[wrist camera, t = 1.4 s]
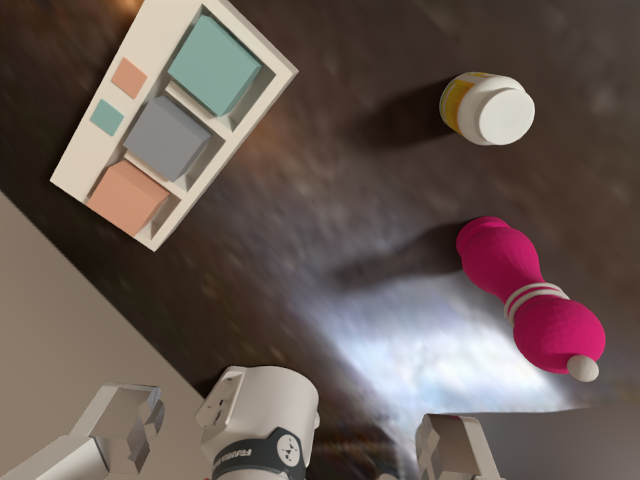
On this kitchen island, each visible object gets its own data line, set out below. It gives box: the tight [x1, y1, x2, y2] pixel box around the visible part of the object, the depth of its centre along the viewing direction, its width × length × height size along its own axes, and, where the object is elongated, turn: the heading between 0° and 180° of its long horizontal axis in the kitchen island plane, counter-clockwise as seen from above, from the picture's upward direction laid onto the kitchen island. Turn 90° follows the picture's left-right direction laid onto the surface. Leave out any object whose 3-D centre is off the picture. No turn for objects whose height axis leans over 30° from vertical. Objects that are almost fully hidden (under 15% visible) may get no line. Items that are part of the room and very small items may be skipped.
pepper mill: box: [456, 217, 605, 382], centre depth 32 cm, size 7×7×20 cm
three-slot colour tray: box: [50, 0, 299, 252], centre depth 34 cm, size 24×12×5 cm, turn 138°
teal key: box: [167, 15, 264, 117], centre depth 29 cm, size 5×5×3 cm
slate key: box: [123, 96, 213, 183], centre depth 32 cm, size 5×5×3 cm
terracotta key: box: [86, 159, 171, 237], centre depth 35 cm, size 5×5×3 cm
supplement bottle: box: [440, 72, 535, 145], centre depth 30 cm, size 5×5×10 cm
